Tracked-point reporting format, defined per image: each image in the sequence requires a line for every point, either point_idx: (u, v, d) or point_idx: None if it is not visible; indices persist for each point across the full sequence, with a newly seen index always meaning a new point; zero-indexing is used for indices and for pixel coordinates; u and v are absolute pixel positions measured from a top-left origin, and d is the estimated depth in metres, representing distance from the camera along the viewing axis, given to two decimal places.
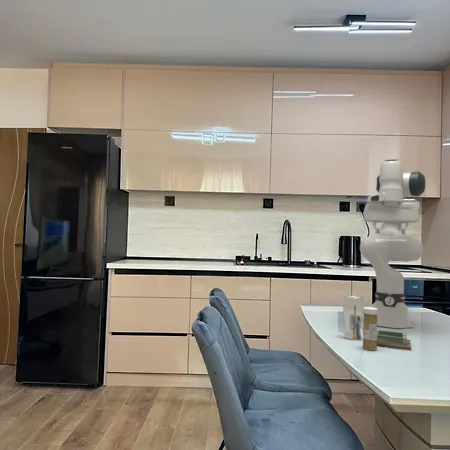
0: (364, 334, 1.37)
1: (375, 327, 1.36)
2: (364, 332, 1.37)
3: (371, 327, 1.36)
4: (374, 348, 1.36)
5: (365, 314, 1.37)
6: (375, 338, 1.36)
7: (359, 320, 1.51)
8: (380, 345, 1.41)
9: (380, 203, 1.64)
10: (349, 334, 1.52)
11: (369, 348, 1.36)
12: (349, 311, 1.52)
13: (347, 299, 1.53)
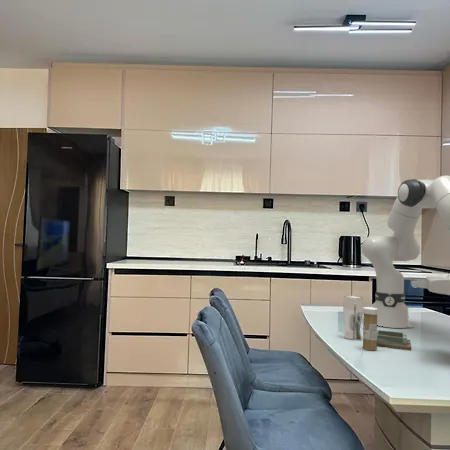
0: (364, 334, 1.37)
1: (375, 327, 1.36)
2: (364, 332, 1.37)
3: (371, 327, 1.36)
4: (374, 348, 1.36)
5: (365, 314, 1.37)
6: (375, 338, 1.36)
7: (359, 320, 1.51)
8: (380, 345, 1.41)
9: None
10: (349, 334, 1.52)
11: (369, 348, 1.36)
12: (349, 311, 1.52)
13: (347, 299, 1.53)
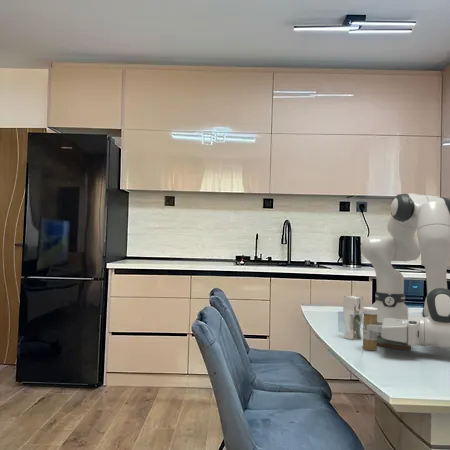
0: (364, 334, 1.37)
1: None
2: (364, 332, 1.37)
3: None
4: (374, 348, 1.36)
5: (365, 314, 1.37)
6: (375, 338, 1.36)
7: (359, 320, 1.51)
8: (380, 345, 1.41)
9: None
10: (349, 334, 1.52)
11: (369, 348, 1.36)
12: (349, 311, 1.52)
13: (347, 299, 1.53)
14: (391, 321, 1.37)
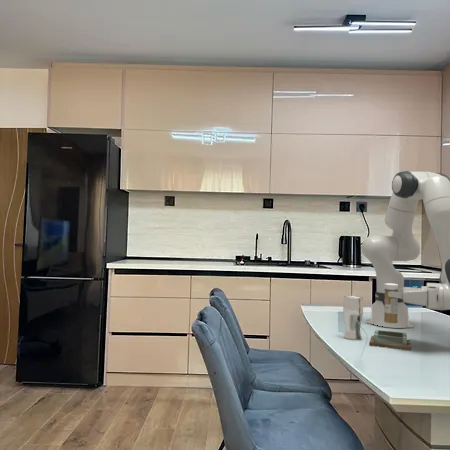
0: (386, 308, 1.46)
1: (396, 301, 1.45)
2: (386, 306, 1.46)
3: (392, 302, 1.45)
4: (395, 321, 1.45)
5: (386, 289, 1.46)
6: (396, 312, 1.45)
7: (359, 320, 1.51)
8: (380, 345, 1.41)
9: None
10: (349, 334, 1.52)
11: (391, 321, 1.45)
12: (349, 311, 1.52)
13: (347, 299, 1.53)
14: None
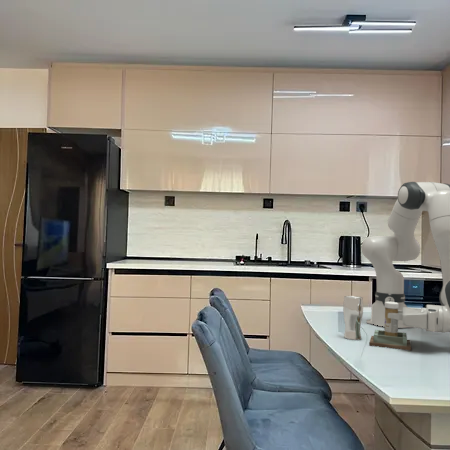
0: (386, 327, 1.46)
1: (396, 320, 1.45)
2: (386, 325, 1.46)
3: (392, 321, 1.44)
4: None
5: (387, 308, 1.46)
6: (396, 331, 1.45)
7: (359, 320, 1.51)
8: (380, 345, 1.41)
9: None
10: (349, 334, 1.52)
11: None
12: (349, 311, 1.52)
13: (347, 299, 1.53)
14: (410, 310, 1.46)
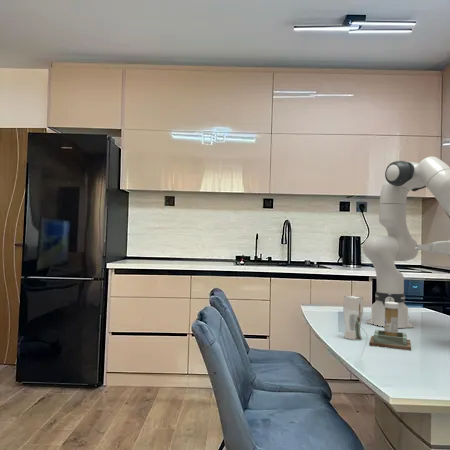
0: (386, 327, 1.46)
1: (396, 320, 1.45)
2: (386, 325, 1.46)
3: (392, 321, 1.44)
4: None
5: (387, 308, 1.46)
6: (396, 331, 1.45)
7: (359, 320, 1.51)
8: (380, 345, 1.41)
9: None
10: (349, 334, 1.52)
11: None
12: (349, 311, 1.52)
13: (347, 299, 1.53)
14: None
